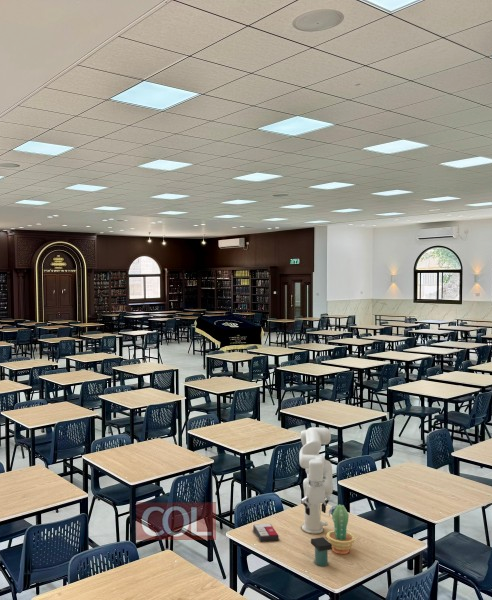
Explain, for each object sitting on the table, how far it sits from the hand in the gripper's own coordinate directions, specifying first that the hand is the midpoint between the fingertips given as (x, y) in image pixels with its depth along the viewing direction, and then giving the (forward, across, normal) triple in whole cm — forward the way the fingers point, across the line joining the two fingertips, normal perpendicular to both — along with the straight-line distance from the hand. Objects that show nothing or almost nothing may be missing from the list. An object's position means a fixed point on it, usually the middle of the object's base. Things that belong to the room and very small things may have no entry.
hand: (315, 513), depth 303 cm
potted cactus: (+24, -17, -1) cm, 29 cm away
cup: (+24, +2, +8) cm, 25 cm away
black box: (+14, +1, +8) cm, 17 cm away
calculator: (+24, +16, -30) cm, 42 cm away
